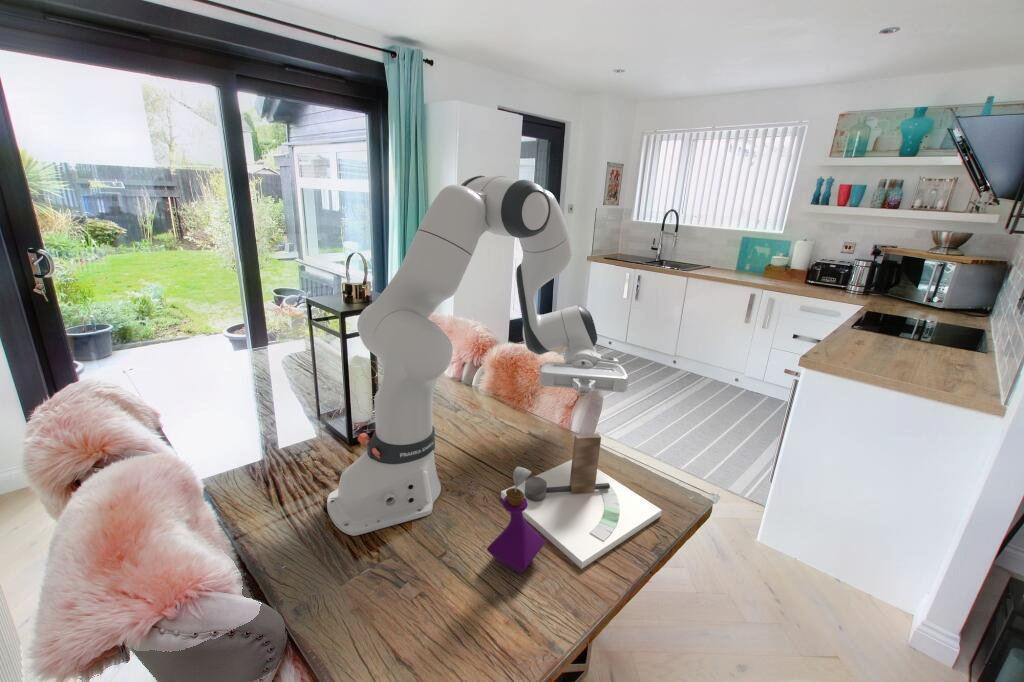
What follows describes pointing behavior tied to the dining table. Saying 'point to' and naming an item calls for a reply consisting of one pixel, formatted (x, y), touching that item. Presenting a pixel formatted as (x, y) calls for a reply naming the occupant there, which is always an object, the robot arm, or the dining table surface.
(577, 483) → the lever
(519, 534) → the perfume bottle
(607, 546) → the dial board
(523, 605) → the dining table surface
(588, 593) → the dining table surface
